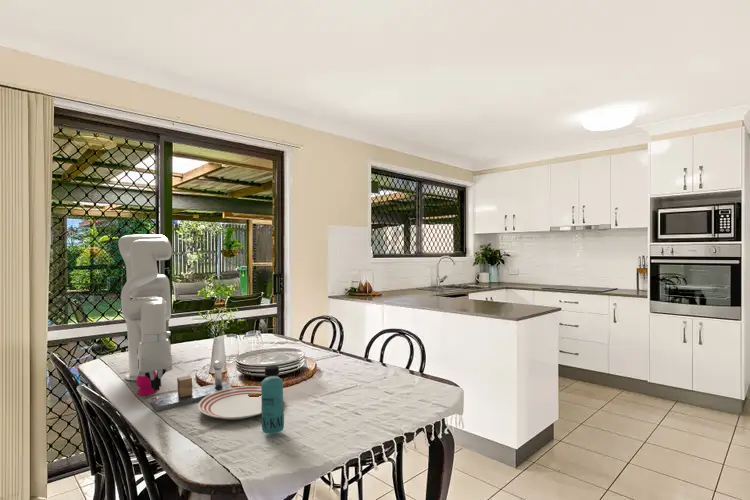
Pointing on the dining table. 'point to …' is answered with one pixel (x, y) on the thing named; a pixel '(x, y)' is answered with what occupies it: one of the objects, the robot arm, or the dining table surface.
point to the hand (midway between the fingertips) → (156, 389)
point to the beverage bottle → (272, 401)
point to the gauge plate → (198, 393)
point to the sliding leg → (184, 386)
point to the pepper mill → (144, 384)
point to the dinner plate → (232, 403)
